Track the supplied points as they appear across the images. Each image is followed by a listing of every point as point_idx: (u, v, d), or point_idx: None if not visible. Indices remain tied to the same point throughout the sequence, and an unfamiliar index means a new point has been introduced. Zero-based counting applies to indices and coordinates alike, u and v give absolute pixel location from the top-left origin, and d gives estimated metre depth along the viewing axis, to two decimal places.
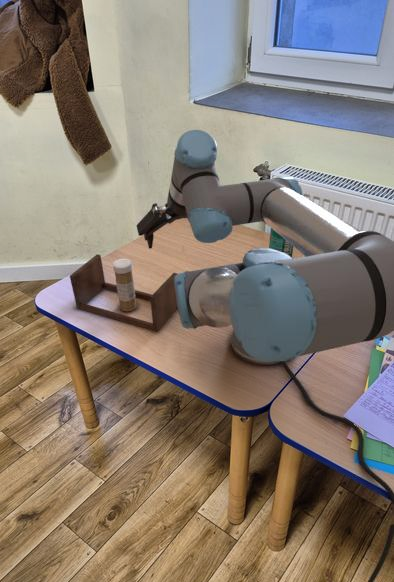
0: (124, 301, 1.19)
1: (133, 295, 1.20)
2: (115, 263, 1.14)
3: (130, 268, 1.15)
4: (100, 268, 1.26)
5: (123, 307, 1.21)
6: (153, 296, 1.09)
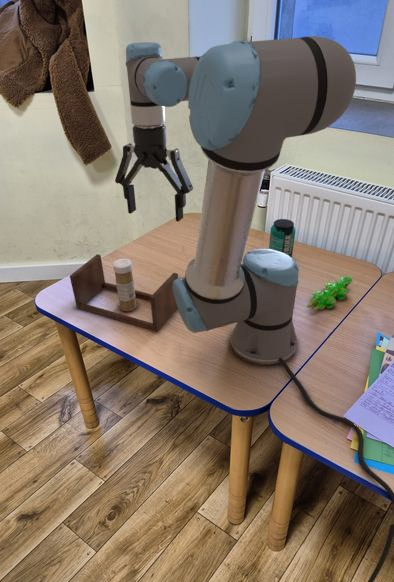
0: (124, 301, 1.19)
1: (133, 295, 1.20)
2: (115, 263, 1.14)
3: (130, 268, 1.15)
4: (100, 268, 1.26)
5: (123, 307, 1.21)
6: (153, 296, 1.09)
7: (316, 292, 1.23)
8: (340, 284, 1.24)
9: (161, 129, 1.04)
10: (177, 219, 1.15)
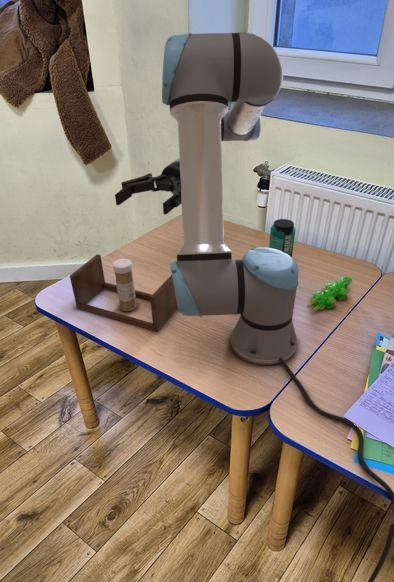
0: (124, 301, 1.19)
1: (133, 295, 1.20)
2: (115, 263, 1.14)
3: (130, 268, 1.15)
4: (100, 268, 1.26)
5: (123, 307, 1.21)
6: (153, 296, 1.09)
7: (316, 292, 1.23)
8: (340, 284, 1.24)
9: None
10: (165, 202, 1.12)
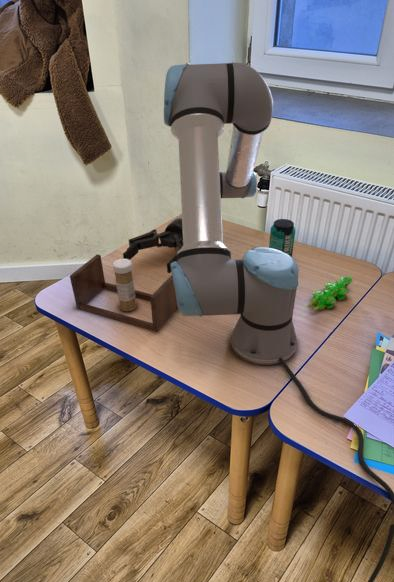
0: (124, 301, 1.19)
1: (133, 295, 1.20)
2: (115, 263, 1.14)
3: (130, 268, 1.15)
4: (100, 268, 1.26)
5: (123, 307, 1.21)
6: (153, 296, 1.09)
7: (316, 292, 1.23)
8: (340, 284, 1.24)
9: None
10: (169, 263, 1.23)
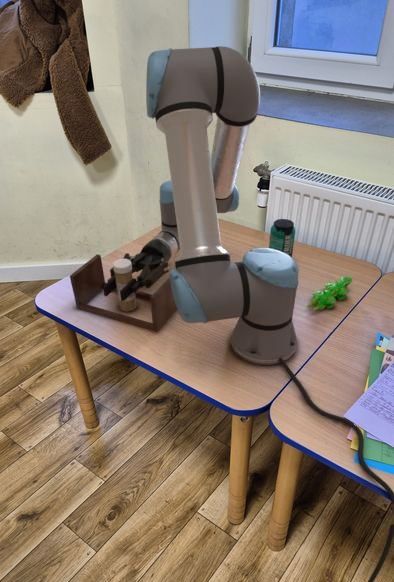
0: (124, 301, 1.19)
1: (133, 295, 1.20)
2: (115, 263, 1.14)
3: (130, 268, 1.15)
4: (100, 268, 1.26)
5: (123, 307, 1.21)
6: (153, 296, 1.09)
7: (316, 292, 1.23)
8: (340, 284, 1.24)
9: (169, 252, 1.29)
10: (122, 290, 1.13)
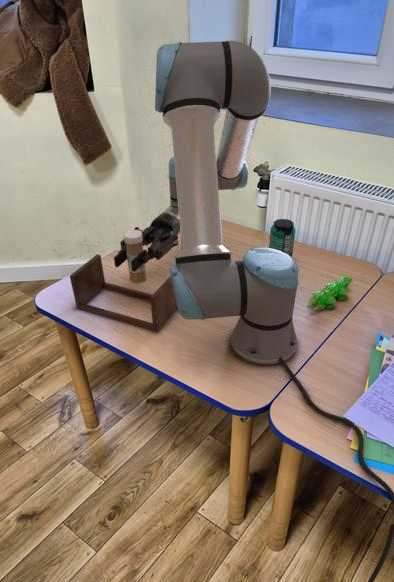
0: (135, 272, 1.20)
1: (143, 267, 1.21)
2: (126, 234, 1.15)
3: (141, 239, 1.15)
4: (100, 268, 1.26)
5: (133, 279, 1.22)
6: (153, 296, 1.09)
7: (316, 292, 1.23)
8: (340, 284, 1.24)
9: (178, 226, 1.30)
10: (133, 260, 1.14)
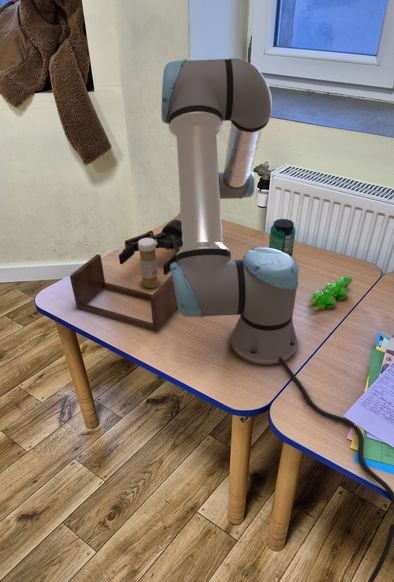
0: (148, 278, 1.28)
1: (156, 272, 1.28)
2: (140, 242, 1.23)
3: (154, 246, 1.23)
4: (100, 268, 1.26)
5: (146, 284, 1.29)
6: (153, 296, 1.09)
7: (316, 292, 1.23)
8: (340, 284, 1.24)
9: None
10: (165, 264, 1.21)
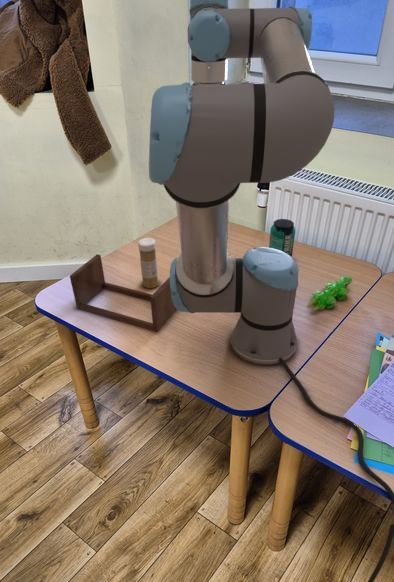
0: (148, 278, 1.28)
1: (156, 272, 1.28)
2: (140, 242, 1.23)
3: (154, 246, 1.23)
4: (100, 268, 1.26)
5: (146, 284, 1.29)
6: (153, 296, 1.09)
7: (316, 292, 1.23)
8: (340, 284, 1.24)
9: None
10: None
